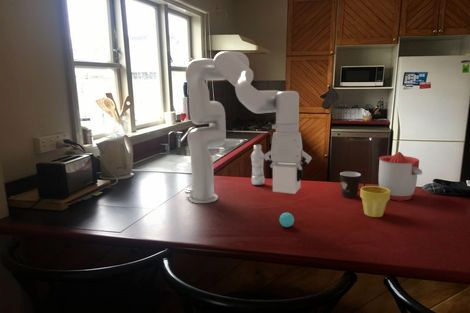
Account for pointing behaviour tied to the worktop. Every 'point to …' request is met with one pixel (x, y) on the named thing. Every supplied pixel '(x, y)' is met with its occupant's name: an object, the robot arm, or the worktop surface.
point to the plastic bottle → (257, 166)
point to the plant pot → (374, 200)
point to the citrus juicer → (399, 175)
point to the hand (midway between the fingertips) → (286, 179)
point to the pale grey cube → (285, 178)
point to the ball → (286, 219)
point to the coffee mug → (350, 184)
